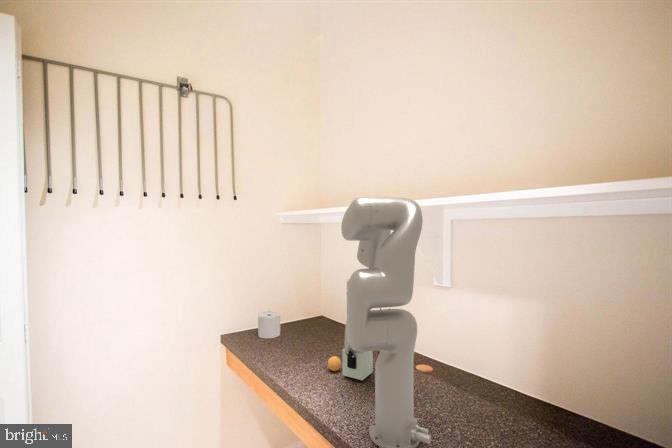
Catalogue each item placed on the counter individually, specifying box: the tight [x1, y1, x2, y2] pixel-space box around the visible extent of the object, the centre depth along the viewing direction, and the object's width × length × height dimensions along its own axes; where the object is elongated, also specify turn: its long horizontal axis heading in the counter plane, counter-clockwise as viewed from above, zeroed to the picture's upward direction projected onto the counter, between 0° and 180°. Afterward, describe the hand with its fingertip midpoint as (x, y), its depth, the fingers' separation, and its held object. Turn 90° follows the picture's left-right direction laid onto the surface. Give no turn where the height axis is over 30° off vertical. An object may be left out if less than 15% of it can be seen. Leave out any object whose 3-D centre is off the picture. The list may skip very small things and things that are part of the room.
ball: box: [327, 355, 342, 372], centre depth 119 cm, size 5×5×5 cm
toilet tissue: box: [257, 310, 281, 339], centre depth 160 cm, size 11×12×10 cm
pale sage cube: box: [341, 348, 374, 381], centre depth 114 cm, size 8×8×9 cm
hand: (357, 363), depth 114 cm, fingers closed on pale sage cube, 7 cm apart
